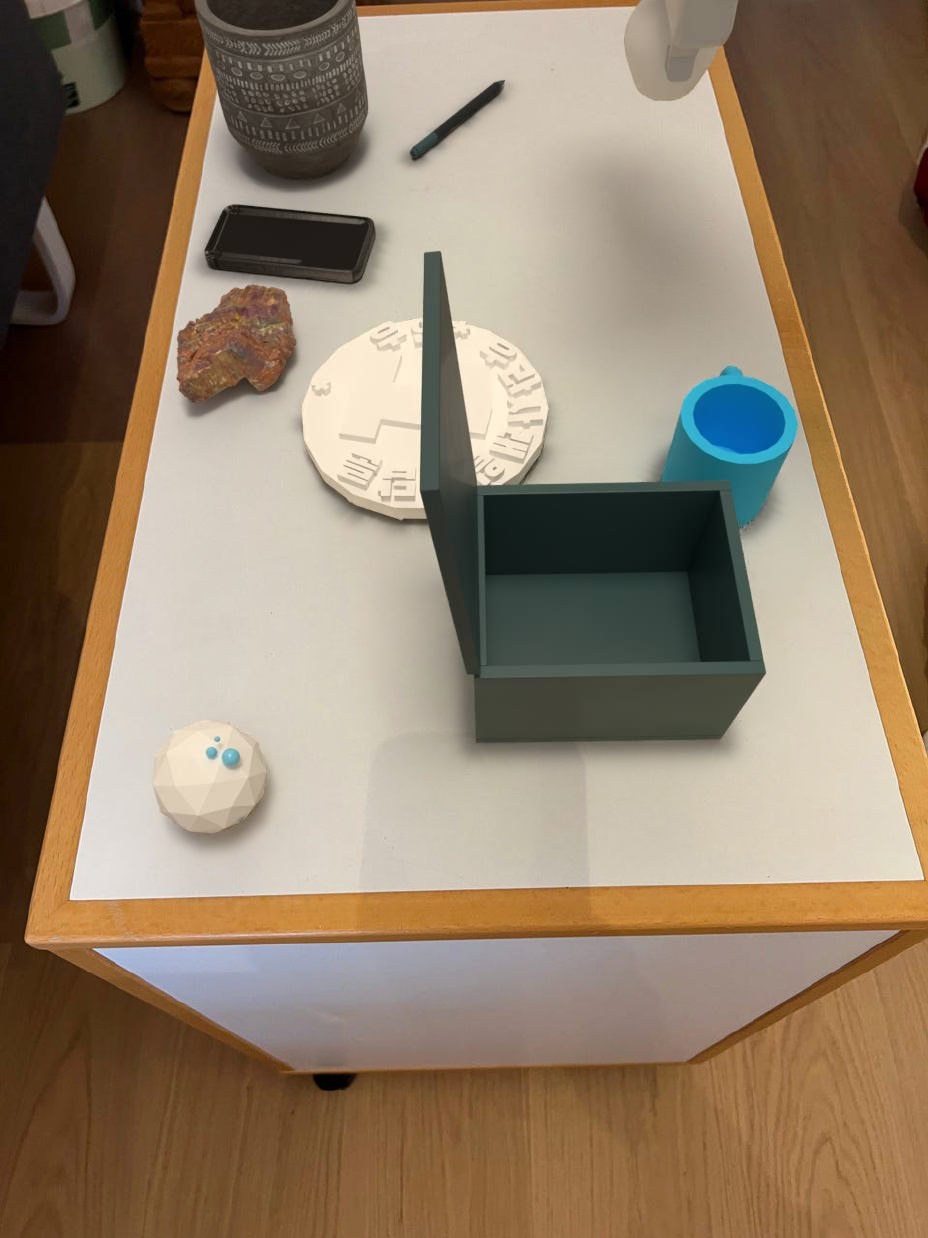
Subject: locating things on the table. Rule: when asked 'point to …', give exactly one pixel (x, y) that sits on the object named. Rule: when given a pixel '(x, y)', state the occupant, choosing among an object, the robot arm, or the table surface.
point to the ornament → (209, 776)
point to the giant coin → (418, 414)
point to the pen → (456, 119)
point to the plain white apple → (657, 53)
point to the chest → (612, 613)
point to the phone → (291, 243)
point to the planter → (288, 80)
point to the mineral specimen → (236, 343)
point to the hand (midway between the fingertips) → (670, 43)
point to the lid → (449, 464)
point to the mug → (733, 438)
